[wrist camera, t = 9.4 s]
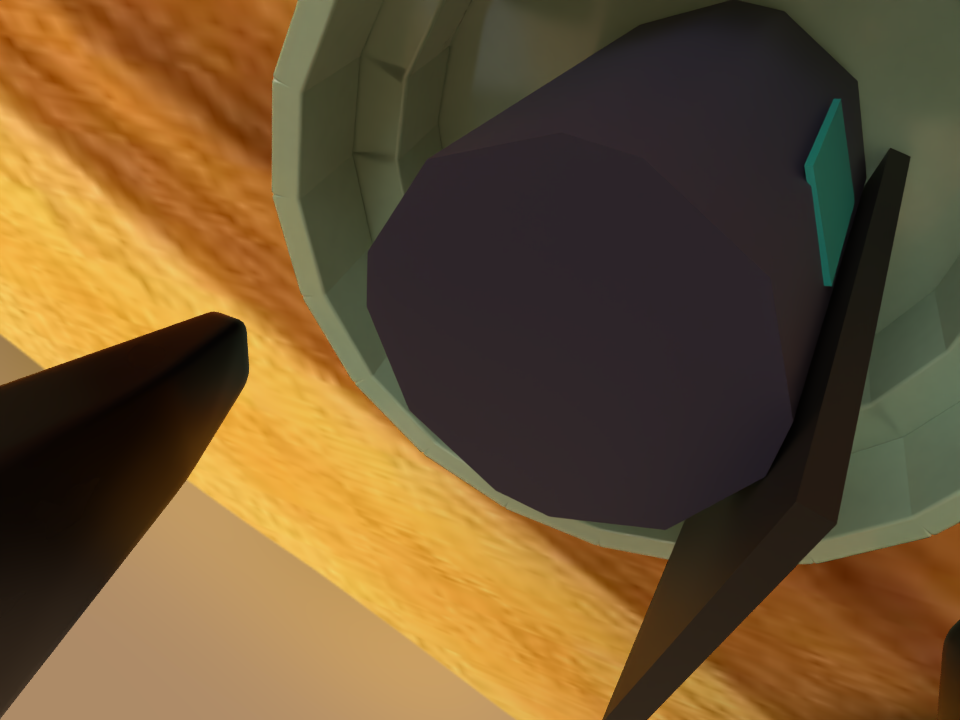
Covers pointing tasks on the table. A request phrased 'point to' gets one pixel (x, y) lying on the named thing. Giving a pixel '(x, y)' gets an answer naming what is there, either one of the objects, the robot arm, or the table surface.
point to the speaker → (655, 307)
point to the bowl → (538, 60)
